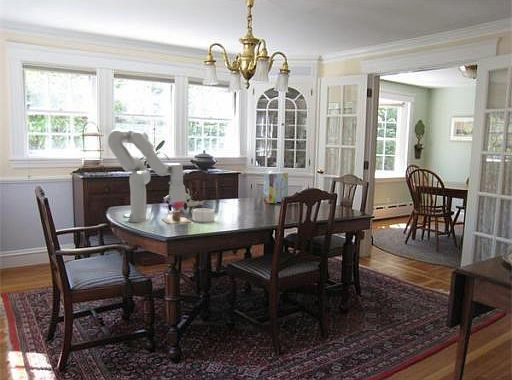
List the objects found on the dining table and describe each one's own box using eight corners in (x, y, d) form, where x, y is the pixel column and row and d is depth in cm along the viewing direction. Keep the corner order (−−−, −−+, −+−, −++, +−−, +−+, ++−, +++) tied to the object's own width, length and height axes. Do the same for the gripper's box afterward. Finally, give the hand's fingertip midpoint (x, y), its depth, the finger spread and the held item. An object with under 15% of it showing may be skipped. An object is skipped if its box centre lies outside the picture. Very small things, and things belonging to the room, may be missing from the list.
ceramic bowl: (196, 223, 272) (197, 212, 271) (190, 219, 283) (190, 208, 282) (216, 221, 277) (216, 211, 277) (209, 218, 289) (209, 208, 288)
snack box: (281, 200, 378) (282, 171, 375) (287, 202, 372) (289, 172, 368) (262, 202, 364) (263, 172, 361) (269, 204, 358) (270, 173, 355)
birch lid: (167, 224, 262) (167, 214, 261) (161, 220, 276) (161, 210, 275) (191, 223, 269) (191, 212, 268) (184, 218, 282) (184, 208, 281)
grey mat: (166, 226, 260) (166, 225, 260) (158, 220, 276) (158, 219, 276) (194, 224, 268) (194, 223, 268) (185, 218, 284) (185, 218, 284)
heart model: (188, 213, 309) (167, 211, 296) (180, 215, 315) (160, 213, 302) (188, 192, 312) (167, 189, 299) (180, 194, 318) (160, 191, 305)
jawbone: (176, 205, 338) (178, 187, 337) (186, 205, 345) (187, 188, 344) (198, 210, 322) (200, 192, 321) (208, 210, 330) (210, 192, 329)
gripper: (164, 184, 262) (165, 212, 264) (192, 183, 270) (192, 210, 272) (161, 183, 269) (162, 210, 271) (188, 182, 276) (189, 208, 278)
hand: (177, 210), depth 271 cm, fingers open, 9 cm apart
